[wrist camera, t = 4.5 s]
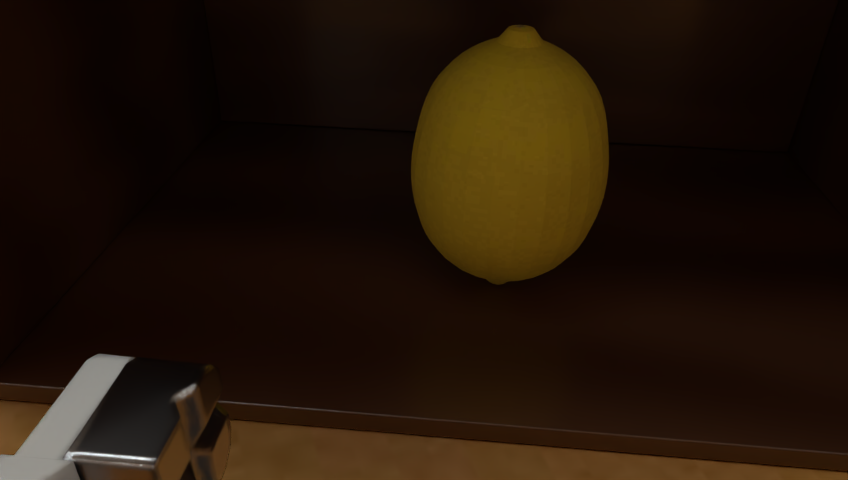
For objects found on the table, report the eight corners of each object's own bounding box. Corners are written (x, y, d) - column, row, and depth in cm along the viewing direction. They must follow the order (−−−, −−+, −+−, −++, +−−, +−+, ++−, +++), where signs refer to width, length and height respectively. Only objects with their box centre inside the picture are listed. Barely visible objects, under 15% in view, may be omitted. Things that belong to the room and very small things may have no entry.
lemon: (538, 226, 24) (568, -4, 20) (618, 320, 20) (679, 49, 16) (390, 247, 23) (388, 5, 19) (440, 353, 18) (453, 67, 14)
